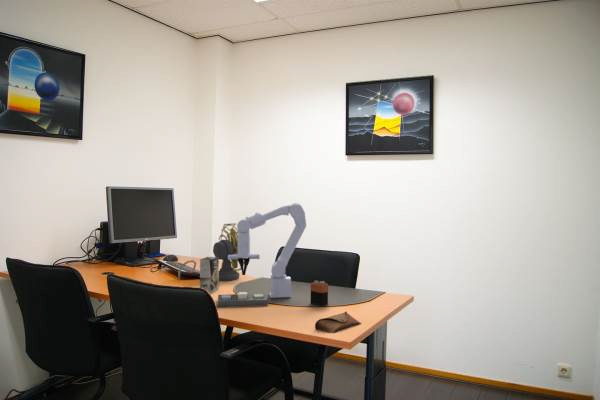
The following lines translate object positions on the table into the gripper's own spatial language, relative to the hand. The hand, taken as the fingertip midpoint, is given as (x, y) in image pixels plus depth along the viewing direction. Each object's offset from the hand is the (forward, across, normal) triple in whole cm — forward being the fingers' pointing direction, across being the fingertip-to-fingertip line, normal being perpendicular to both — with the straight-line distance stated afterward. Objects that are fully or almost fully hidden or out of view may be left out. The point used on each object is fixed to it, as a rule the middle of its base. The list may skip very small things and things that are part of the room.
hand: (243, 274), depth 225 cm
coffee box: (+10, -16, +12) cm, 22 cm away
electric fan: (+10, -15, +39) cm, 43 cm away
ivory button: (+9, -1, -13) cm, 16 cm away
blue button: (+10, -8, -13) cm, 18 cm away
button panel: (+10, -1, -13) cm, 16 cm away
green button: (+10, +6, -13) cm, 17 cm away
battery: (+10, +32, -19) cm, 39 cm away
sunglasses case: (+11, +33, -52) cm, 62 cm away
